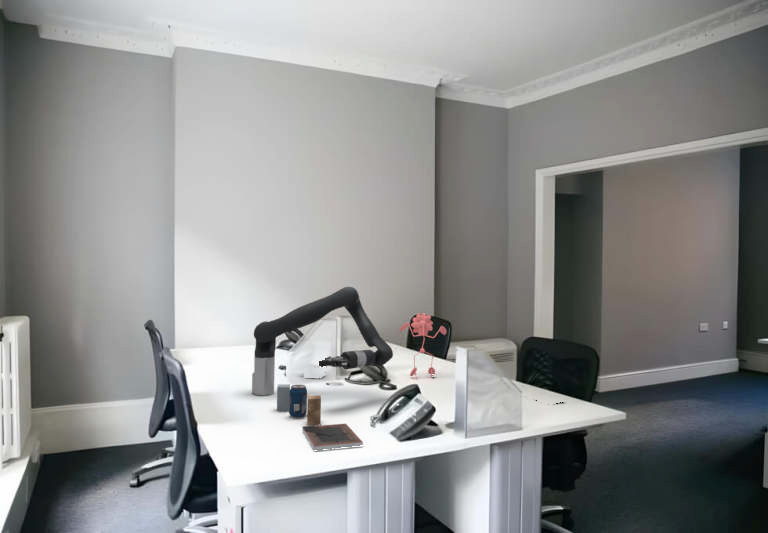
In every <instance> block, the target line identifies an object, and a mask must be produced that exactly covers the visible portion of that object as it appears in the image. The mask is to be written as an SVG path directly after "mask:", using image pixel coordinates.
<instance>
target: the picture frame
mask: <svg viewBox="0 0 768 533" xmlns="http://www.w3.org/2000/svg"><path fill="white" fill-rule="evenodd" d="M301 428H302V431H303V432H302V431H301V432H302V434H303V433H304V434H305V435H304V434H303V435H304V437H305V436H306V437H305V438H306V440H307V439H308V440H307V442H308V441H309V442H310V443H309V442H308V443H309V445H310V444H311V445H310V447H311V446H312V447H313V448H312V447H311V448H312V450H313V449H314V450H323V449H332V448H341V447H352V446H360V445H363V446H364V442H363V440H362V439H361V438H359V436H358V435H357V434H356V432H355V431H353V430H352V429H351V427H350V426H349V425H348V424H347V423H338V424H337V423H336V424H335V423H333V424H324V425H321V424H320V425H305V426H302V427H301ZM314 450H313V451H314Z"/></svg>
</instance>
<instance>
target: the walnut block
mask: <svg viewBox="0 0 768 533" xmlns="http://www.w3.org/2000/svg"><path fill="white" fill-rule="evenodd" d="M321 410H322V396H321V395H320V394H318V395H315V394H314V395H307V413H306V426H320V425H321V419H322V414H321V413H322V412H321ZM319 424H320V425H319Z"/></svg>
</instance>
